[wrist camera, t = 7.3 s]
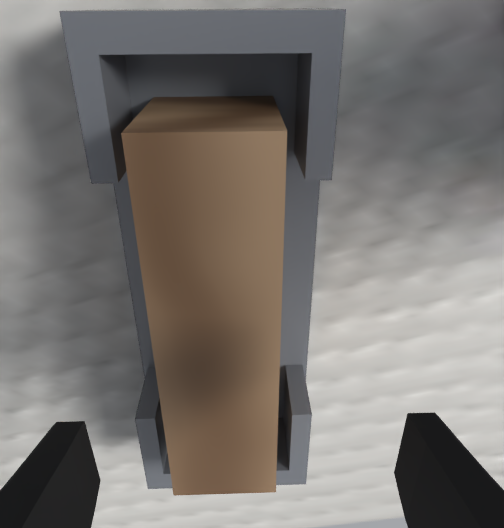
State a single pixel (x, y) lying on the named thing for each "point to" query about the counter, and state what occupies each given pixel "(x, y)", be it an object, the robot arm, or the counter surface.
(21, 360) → the counter surface
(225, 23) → the cradle
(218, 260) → the slat
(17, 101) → the counter surface
